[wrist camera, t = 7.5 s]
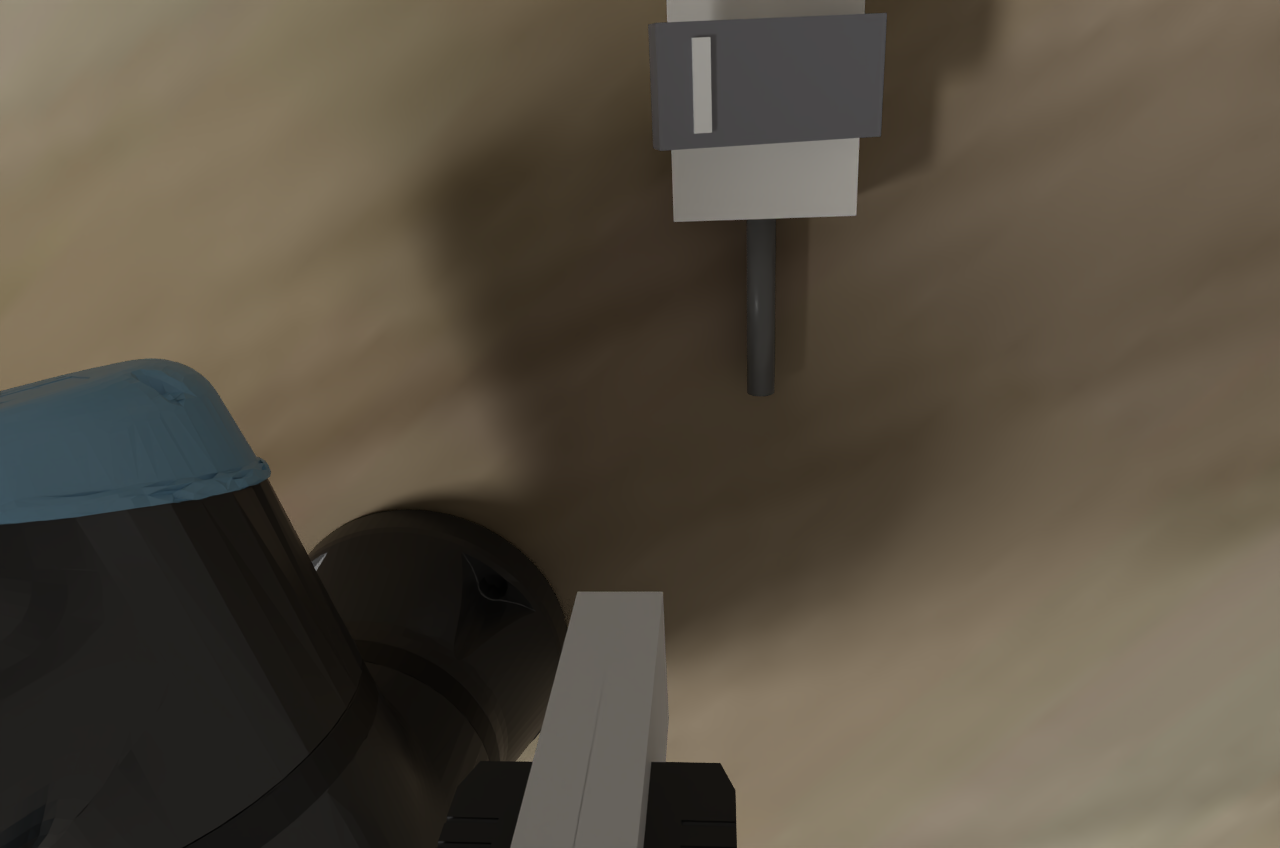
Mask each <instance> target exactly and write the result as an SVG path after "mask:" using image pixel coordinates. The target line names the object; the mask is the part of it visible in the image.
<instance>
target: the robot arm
mask: <svg viewBox="0 0 1280 848" xmlns="http://www.w3.org/2000/svg"><path fill="white" fill-rule="evenodd" d="M270 474H271V471H270V468H269V465H268V464H267V462H266V461H265V460H263V459H261V458H260V457H256V455H255V454H254V452H253V450H252V449H251V447H250V446H249V444H248V442H247V441H246V439H245V437H244V436H243V434H242V432H241V431H240V429H239V428H238V426H237V424H236V423H235V421H234V419H233V418H232V416H231V414H230V413H229V411H228V409H227V408H226V406H225V405H224V403H223V401H222V400H221V398H220V396H219V395H218V393H217V391H216V390H215V389H214V387H213V386H212V385H211V384H210V382H209V381H208V380H207V379H206V378H204V377H203V376H202V375H201V374H200V373H198V372H197V371H195V370H194V369H192V368H190V367H188V366H186V365H183V364H181V363H178V362H174V361H169V360H165V359H138V360H131V361H125V362H120V363H115V364H110V365H105V366H101V367H96V368H91V369H87V370H82V371H78V372H74V373H70V374H66V375H61V376H57V377H53V378H49V379H45V380H42V381H38V382H34V383H30V384H26V385H22V386H18V387H14V388H11V389H7V390H3V391H0V848H737V835H736V796H735V789H734V787H733V785H732V783H731V782H730V780H729V778H728V776H727V774H726V773H725V771H724V769H723V767H722V766H721V764H720V763H686V762H666V748H667V734H668V721H669V716H668V693H667V671H666V648H665V626H664V603H663V592H577V595H576V599H575V603H574V607H573V610H572V614H571V618H570V622H569V626H568V630H567V627H566V622H565V618H564V615H563V612H562V609H561V606H560V604H559V601H558V599H557V597H556V595H555V593H554V591H553V590H552V588H551V586H550V585H549V583H548V582H547V580H546V579H545V577H544V576H543V575H542V573H541V572H540V571H539V570H538V569H537V567H536V566H535V565H534V564H533V563H532V562H531V561H530V560H529V559H528V558H527V557H526V556H525V555H524V554H523V553H522V552H521V551H519V550H518V549H517V548H516V547H514V546H513V545H512V544H510V543H509V542H508V541H506V540H505V539H503V538H502V537H500V536H498V535H497V534H495V533H494V532H492V531H490V530H488V529H486V528H484V527H482V526H480V525H477V524H475V523H473V522H470V521H467V520H465V519H462V518H459V517H455V516H452V515H447V514H443V513H438V512H432V511H423V510H395V511H386V512H381V513H376V514H372V515H368V516H365V517H362V518H359V519H356V520H354V521H352V522H349V523H347V524H345V525H343V526H341V527H340V528H338V529H336V530H335V531H333V532H332V533H330V534H329V535H328V536H326V537H325V538H324V539H323V540H322V541H321V542H320V543H318V544H317V545H316V547H315V548H314V549H313V550H312V551H311V552H310V553H309V555H308V554H307V552H306V550H305V549H304V547H303V545H302V543H301V541H300V539H299V537H298V535H297V533H296V531H295V530H294V528H293V526H292V524H291V522H290V520H289V518H288V516H287V514H286V512H285V510H284V509H283V507H282V505H281V503H280V501H279V499H278V497H277V495H276V493H275V491H274V490H273V488H272V486H271V484H270V482H269V480H268V478H269V477H270ZM539 733H540V736H539V740H538V744H537V748H536V751H535V755H534V759H533V762H515V761H516V760H517V759H518V758H519V757H520V755H521V754H522V753H523V752H524V750H525V749H526V748H527V746H528V745H529V744H530V743H531V742H532V741H533V740H534V739H535V738H536V737H537V735H538V734H539Z"/></svg>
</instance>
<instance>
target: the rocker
mask: <svg viewBox="0 0 1280 848" xmlns="http://www.w3.org/2000/svg"><path fill="white" fill-rule="evenodd" d="M886 22H887V13H871V14H848V15H825V16H802V17H779V18H756V19H733V20H710V21H687V22H664V23H653V24H649V25H648V31H649V56H650V81H651V106H652V132H653V148H654V149H656V150H659V151H666V150H681V149H696V148H712V147H727V146H742V145H758V144H773V143H788V142H803V141H819V140H834V139H849V138H865V137H880V136H881V124H882V103H883V83H884V63H885V43H886Z"/></svg>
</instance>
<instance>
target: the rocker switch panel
mask: <svg viewBox="0 0 1280 848" xmlns="http://www.w3.org/2000/svg"><path fill="white" fill-rule="evenodd" d="M848 14H865V0H667V22H687V21H710V20H733V19H756V18H779V17H802V16H825V15H848ZM671 153H672V184H673V215H674V222H687V221H717V220H746V219H747V393H748V394H750V395H753V396H768V395H772V394H773V393H774V377H775V262H776V218H804V217H833V216H856V210H857V186H858V161H859V138H849V139H834V140H819V141H803V142H788V143H773V144H758V145H742V146H727V147H712V148H696V149H681V150H671Z"/></svg>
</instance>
